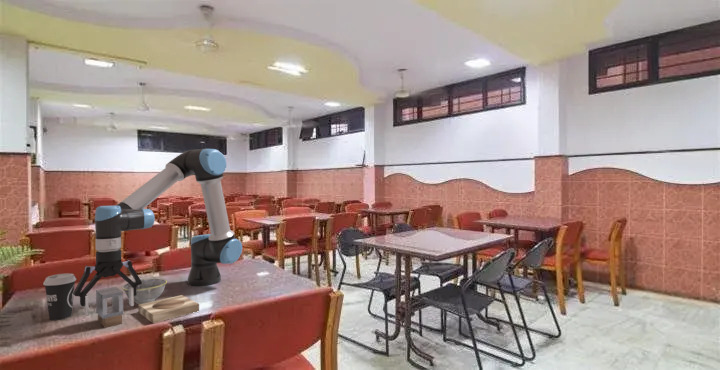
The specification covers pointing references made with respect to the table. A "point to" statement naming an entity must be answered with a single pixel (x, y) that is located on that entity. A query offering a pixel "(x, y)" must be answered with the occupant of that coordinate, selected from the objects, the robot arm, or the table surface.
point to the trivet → (168, 308)
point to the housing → (102, 302)
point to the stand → (110, 321)
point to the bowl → (147, 290)
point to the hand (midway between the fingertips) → (109, 310)
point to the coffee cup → (60, 295)
